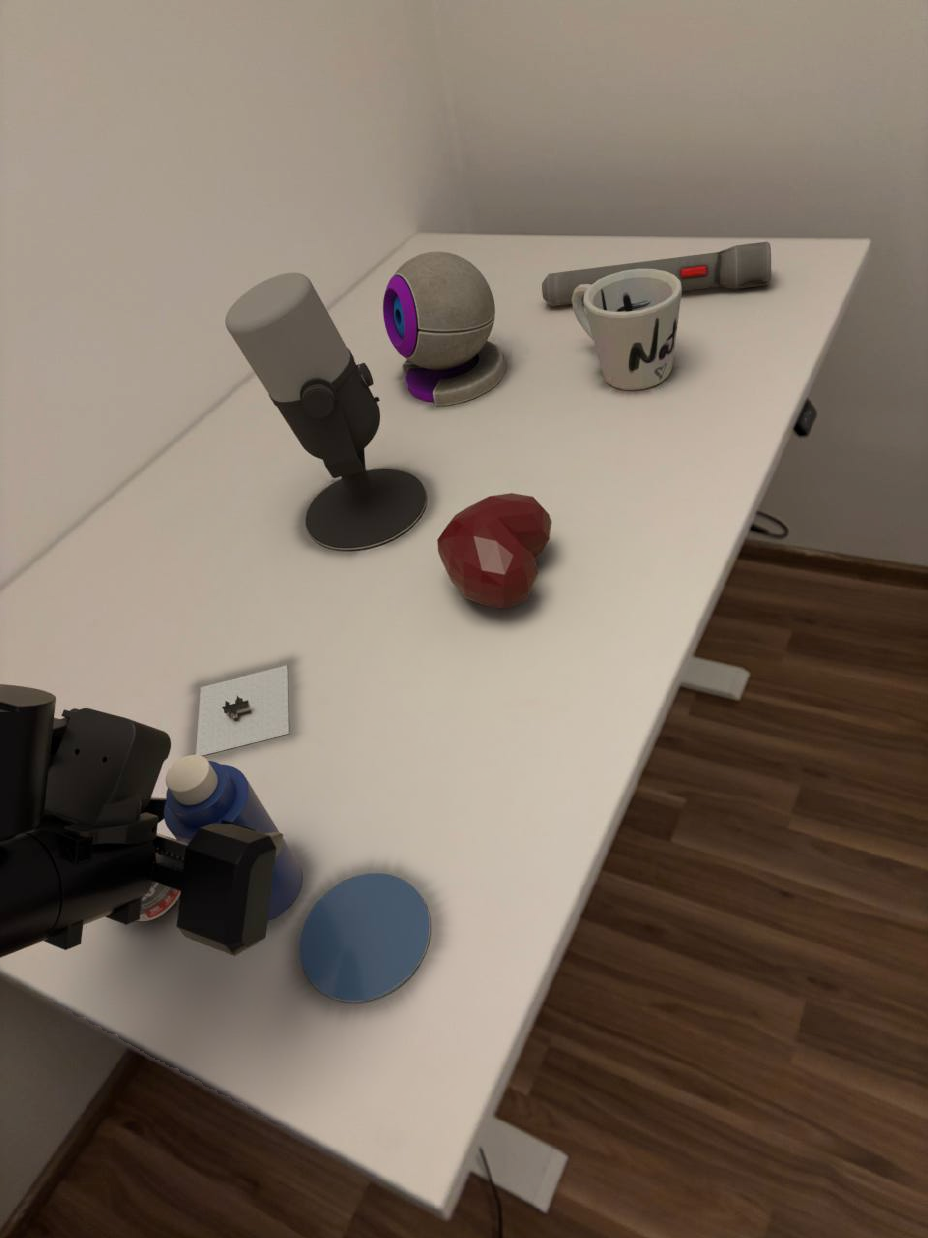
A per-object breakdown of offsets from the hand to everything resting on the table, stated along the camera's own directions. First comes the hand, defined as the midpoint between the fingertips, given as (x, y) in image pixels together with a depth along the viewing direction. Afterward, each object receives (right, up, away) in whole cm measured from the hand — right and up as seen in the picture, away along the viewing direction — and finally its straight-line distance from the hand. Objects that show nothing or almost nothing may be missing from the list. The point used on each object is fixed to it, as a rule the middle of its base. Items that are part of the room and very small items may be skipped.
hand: (223, 822), depth 60 cm
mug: (+34, +42, +46) cm, 71 cm away
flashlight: (+40, +55, +56) cm, 88 cm away
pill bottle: (-7, -7, +7) cm, 12 cm away
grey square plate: (-3, +5, +19) cm, 20 cm away
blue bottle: (+2, -6, +6) cm, 8 cm away
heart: (+19, +17, +24) cm, 35 cm away
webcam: (+15, +43, +52) cm, 69 cm away
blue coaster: (+9, -8, +1) cm, 12 cm away
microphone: (+6, +25, +36) cm, 44 cm away
